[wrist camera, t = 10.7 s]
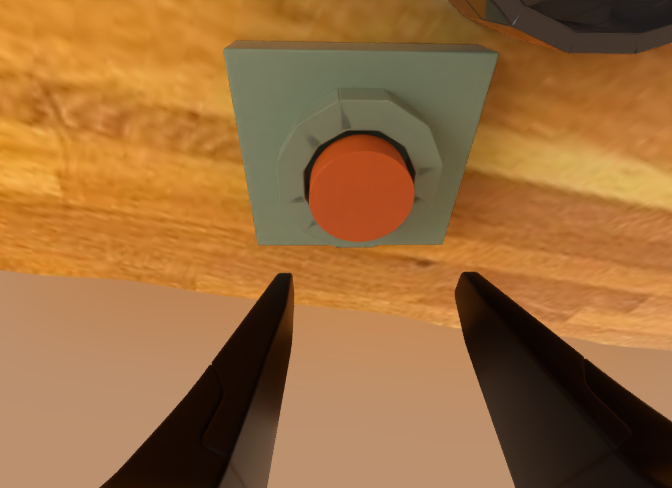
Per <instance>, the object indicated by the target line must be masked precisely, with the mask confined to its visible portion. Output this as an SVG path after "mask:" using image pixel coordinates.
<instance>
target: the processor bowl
mask: <svg viewBox="0 0 672 488" xmlns="http://www.w3.org/2000/svg"><path fill="white" fill-rule="evenodd" d="M448 1H449V2H450V3H451V4H452V5H453V6H454V7H455V8H456V9H457V10H458V11H459V12H460V13H461V14H463V16H466V17H468V18H470V19H472V20H474V21H476V22H478V23H480V24H482V25H484V26H486V27H488V28H491V29H493V30H496V31H498V32H500V33H502V34H504V35H507V36H510V37H514V38H517V39H521V40H524V41H527V42H531V43H534V44H538V45H541V46H544V47H548V48H551V49H555V50H558V51H561V52H566V53H578V54H637V53H640V52H643V51H647V50H650V49H653V48H656V47H660V46H663V45H666V44H670V43H672V0H448Z"/></svg>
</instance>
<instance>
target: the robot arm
mask: <svg viewBox="0 0 672 488" xmlns="http://www.w3.org/2000/svg"><path fill="white" fill-rule="evenodd" d="M455 300H456V304H457V309H458V313H459V318H460V322H461V327H462V331H463V336H464V340H465V344H466V347H467V350H468V353H469V356H470V359H471V361H472V364H473V367H474V370H475V373H476V376H477V379H478V381H479V384H480V387H481V390H482V393H483V396H484V399H485V402H486V404H487V408H488V410H489V413H490V416H491V419H492V422H493V425H494V428H495V431H496V433H497V436H498V439H499V442H500V445H501V448H502V451H503V453H504V456H505V459H506V462H507V465H508V468H509V471H510V474H511V477H512V479H513V482H514V485H515V488H672V422H671V421H670V420H669V419H667V418H666V417H664V416H663V415H662V414H660V413H659V412H657V411H656V410H654V409H653V408H652V407H650V406H649V405H647V404H646V403H645V402H643V401H642V400H640V399H639V398H638V397H636V396H635V395H633V394H632V393H631V392H629V391H628V390H626V389H625V388H624V387H622V386H621V385H620V384H618V383H617V382H616V381H614V380H613V379H612V378H611V377H609V376H608V375H607V374H605V373H604V372H602V371H601V370H600V369H599V368H598V367H596V366H595V365H594V364H592V363H591V362H590V361H589V360H588V359H584V357H583V356H582V355H581V354H579V352H577V351H576V350H575V349H574V348H572V347H571V346H570V345H568V344H567V343H566V342H565V341H563V340H562V339H561V338H560V337H558V336H557V335H556V334H555V333H553V332H552V331H551V330H550V329H548V328H547V327H546V326H544V325H543V324H542V323H541V322H539V321H538V320H537V319H536V318H534V317H533V316H532V315H531V314H529V313H528V312H527V311H526V310H524V309H523V308H522V307H521V306H519V305H518V304H517V303H515V302H514V301H513V300H512V299H510V298H509V297H508V296H507V295H505V294H504V293H503V292H502V291H500V290H499V289H498V288H497V287H495V286H494V285H493V284H492V283H490V282H489V281H488V280H486V279H485V278H484V277H483V276H481V275H480V274H479V273H477V272H463V273H462V274H461V276H460V278H459V281H458V284H457V286H456V289H455ZM293 311H294V286H293V276H292V274H291V273H279V274H277V275H276V277H275V278H274V279H273V281H272V282H271V283H270V285H269V286H268V288H267V289H266V290H265V292H264V293H263V294H262V296H261V297H260V298H259V300H258V301H257V302H256V304H255V305H254V306H253V308H252V309H251V310H250V312H249V313H248V314H247V316H246V317H245V318H244V320H243V321H242V322H241V324H240V325H239V327H238V328H237V329H236V330H235V332H234V333H233V334H232V336H231V337H230V338H229V340H228V341H227V343H226V344H225V345H224V347H223V348H222V349H221V351H220V352H219V353H218V355H217V356H216V357H215V359H214V360H213V361H212V365H209V366H208V368H207V369H206V370H205V372H204V373H203V375H202V376H201V377H200V379H199V380H198V381H197V382H196V384H195V385H194V386H193V387H192V389H191V390H190V391H189V392H188V394H187V395H186V396H185V397H184V398H183V400H182V401H181V402H180V403H179V404H178V405H177V406H176V408H175V409H174V410H173V411H172V412H171V413H170V414H169V416H168V417H167V418H166V419H165V420H164V421H163V422H162V423H161V425H160V426H159V427H158V428H157V429H156V430H155V431H154V432H153V433H152V435H151V436H150V437H149V438H148V439H147V440H146V441H145V442H144V443H143V444H142V445H141V446H140V448H139V449H138V450H137V451H136V452H135V453H134V454H133V455H132V456H131V458H130V459H129V460H128V461H127V462H126V463H125V464H124V465H123V466H122V467H121V468H120V469H119V470H118V472H117V473H115V474H114V475H113V476H112V477H111V478H110V479H109V480H108V481H107V482H105V483H104V484H103V485H102V486H101V487H99V488H267V484H268V478H269V472H270V467H271V461H272V455H273V450H274V443H275V438H276V433H277V427H278V421H279V416H280V410H281V404H282V398H283V393H284V387H285V381H286V376H287V370H288V364H289V359H290V353H291V346H292V333H293Z"/></svg>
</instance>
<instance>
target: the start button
mask: <svg viewBox="0 0 672 488" xmlns="http://www.w3.org/2000/svg"><path fill="white" fill-rule="evenodd" d="M414 195H415V194H414V184H413V181H412V178H411V176H410V173H409V171H408V169H407V167H406V164H405V162H404V160H403V158H402V156H401V154H400V153H399V152H398V150H397V149H396V148H395V147H394V146H393V145H392V144H390V143H389V142H387V141H386V140H384V139H382V138H379V137H376V136H372V135H364V134H358V135H351V136H346V137H343V138H341V139H338V140H336V141H334V142H333V143H331V144H330V145H329V146H327V147H326V148H325V149H324V150H323V151H322V152H321V153H320V154H319V156H318V157H317V159H316V161H315V163H314V165H313V168H312V171H311V177H310V191H309V205H310V210H311V213H312V215H313V217H314V219H315V221H316V222H317V223H318V225H319V226H320V227H321V228H322V229H323V230H324V231H326V232H327V233H329V234H330V235H332V236H334V237H336V238H339V239H342V240H345V241H351V242H366V241H372V240H375V239H379V238H381V237H384V236H386V235H388V234H389V233H391V232H393V231H394V230H395V229H397V228H398V227H399V226H400V225H401V224H402V223H403V222H404V220H405V219H406V218H407V216H408V215H409V213H410V211H411V208H412V206H413V202H414Z"/></svg>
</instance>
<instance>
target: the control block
mask: <svg viewBox="0 0 672 488" xmlns="http://www.w3.org/2000/svg"><path fill="white" fill-rule="evenodd" d="M224 56H225V62H226V68H227V73H228V79H229V84H230V90H231V96H232V101H233V107H234V113H235V118H236V124H237V130H238V135H239V141H240V146H241V152H242V158H243V163H244V169H245V175H246V180H247V186H248V192H249V197H250V203H251V208H252V214H253V220H254V225H255V231H256V237H257V242H258V245H333V246H336V247H375V246H377V245H442V244H443V241H444V238H445V234H446V231H447V228H448V224H449V221H450V217H451V214H452V211H453V207H454V204H455V201H456V197H457V194H458V191H459V187H460V184H461V180H462V177H463V174H464V170H465V167H466V164H467V160H468V157H469V153H470V150H471V147H472V143H473V140H474V137H475V133H476V130H477V127H478V123H479V120H480V116H481V113H482V110H483V106H484V103H485V100H486V96H487V93H488V89H489V86H490V83H491V79H492V76H493V73H494V69H495V66H496V63H497V59H498V56H499V53H498V52H495V51H493V50H490V49H488V48H486V47H483V46H481V45H471V44H412V43H354V42H295V41H237V40H236V41H235V42H233V43H232V44H230V45H229V46H227V47H226V48H224ZM358 134H364V135H372V136H376V137H379V138H382V139H384V140H386V141H387V142H389V143H390V144H392V145H393V146H394V147H395V148H396V149H397V150H398V152H399V153H400V154H401V156H402V158H403V160H404V162H405V164H406V167H407V169H408V171H409V173H410V176H411V178H412V181H413V184H414V194H415V195H414V202H413V206H412V208H411V211H410V213H409V215H408V216H407V218H406V219H405V220H404V222H403V223H402V224H401V225H400V226H399V227H398V228H397V229H395V230H394V231H393V232H391V233H389V234H388V235H386V236H384V237H381V238H379V239H375V240H372V241H366V242H351V241H345V240H342V239H339V238H336V237H334V236H332V235H330V234H329V233H327V232H326V231H324V230H323V229H322V228H321V227H320V226H319V225H318V223H317V222H316V221H315V219H314V217H313V215H312V213H311V210H310V205H309V191H310V177H311V171H312V168H313V165H314V163H315V161H316V159H317V157H318V156H319V154H320V153H321V152H322V151H323V150H324V149H325V148H326V147H327V146H329V145H330V144H331V143H333V142H334V141H336V140H338V139H341V138H343V137H346V136H351V135H358Z"/></svg>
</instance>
